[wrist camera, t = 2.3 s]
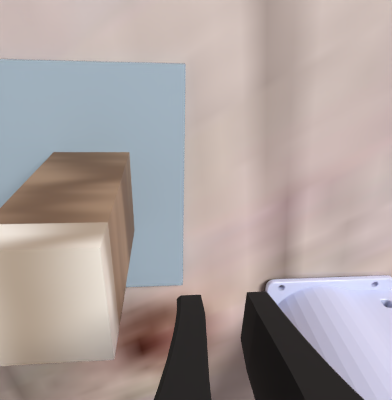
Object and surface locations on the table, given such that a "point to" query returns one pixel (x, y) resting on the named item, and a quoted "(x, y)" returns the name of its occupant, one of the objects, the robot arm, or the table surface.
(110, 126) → the light blue mat
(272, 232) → the table surface
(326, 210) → the table surface
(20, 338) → the walnut block
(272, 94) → the table surface
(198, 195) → the table surface
